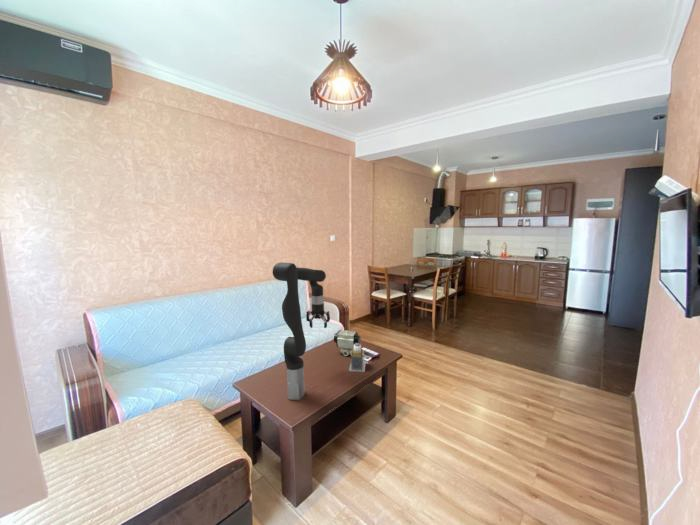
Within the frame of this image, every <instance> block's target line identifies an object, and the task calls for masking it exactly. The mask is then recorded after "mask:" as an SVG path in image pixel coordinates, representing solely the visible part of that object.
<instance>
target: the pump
mask: <svg viewBox="0 0 700 525" xmlns="http://www.w3.org/2000/svg"><path fill="white" fill-rule="evenodd" d="M361 347H362V345H361V343H360V344H359V343H355V344H354V348H353V349H354V352H361Z"/></svg>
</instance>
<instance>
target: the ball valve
mask: <svg viewBox="0 0 700 525" xmlns="http://www.w3.org/2000/svg"><path fill="white" fill-rule="evenodd" d="M361 338H362V337H361V335H359V333H358V331H351V330H342V329H339V330H338V331H337V332H336V333H334V336H333V343H335V345H336V348H337V347H339V348H340V354H342V355H343V356H344V357H348V356H351V351H352V350H353V351H354V344H355V343H359V344H360V345H361V342H362V341H361Z"/></svg>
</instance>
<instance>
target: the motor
mask: <svg viewBox="0 0 700 525" xmlns="http://www.w3.org/2000/svg"><path fill="white" fill-rule="evenodd" d="M362 349H363V347H362V346H361V352H354V351H353V350H352V351H351V355H350V356H351V360H350V363H349V368H348V372H357V373H365V371H366V364H367V361H364V354H365V351H364V350H362Z"/></svg>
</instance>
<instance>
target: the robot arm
mask: <svg viewBox="0 0 700 525" xmlns="http://www.w3.org/2000/svg"><path fill="white" fill-rule="evenodd" d="M272 275H273V276H272V277H273V278H274V279H275V280H277V281H280V282H282V281H283V282H286V286H287V287H286V288H287V291H286V292H287V293H286V295H285V297H284V299H283V301H282V304H281V310H282V317H283V320H284V322H285V324H286V326H288V328H289V330H290V331H291V332H292V335H293V336H288V337H287V338H285V340H284V343H283V355H284V356H283V357H284V363H285V366H286V385H287V399H288V400H290V401H291V400H293V401H300V400H301V399H303V397H305V371H304V367H305V366H304V364H305V363H304V360H303V358H301V357H302V356H304V354H305V352H306V349H307V344H306V343H307V342H306V337H305V333H304V328H303V322H302V313H301V312H302V311H301V305H300V304H301V303H300V296H299V281H307V282H309V285H310V289H311V300H310V301H311V304H310V305H311V311H310V310H307V311H306V322H308V323H309V327H310V328H311V329H312V328H313V326H314V325H313V320H314V319H315V320H316V319H318V320H322V321H323V322H324V323H323V325H324V326H323V327H324V328H323V329H326V328H327V327H328V322H330V321H331V317H330V316H331V315H330V311H328V310H327V311H325V298H324V287H323V285H321V284H319V283H322V282H324V281H325V280H326V276H327V275H326V272H325V271H324V270H321V269H312V268H308V267H297V265H296V264H295V263H294V262H293V263H292V262H277V263H276V264H275V265H274V266H273V267H272ZM318 282H319V283H318ZM310 315H312V317H311V318H310Z"/></svg>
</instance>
